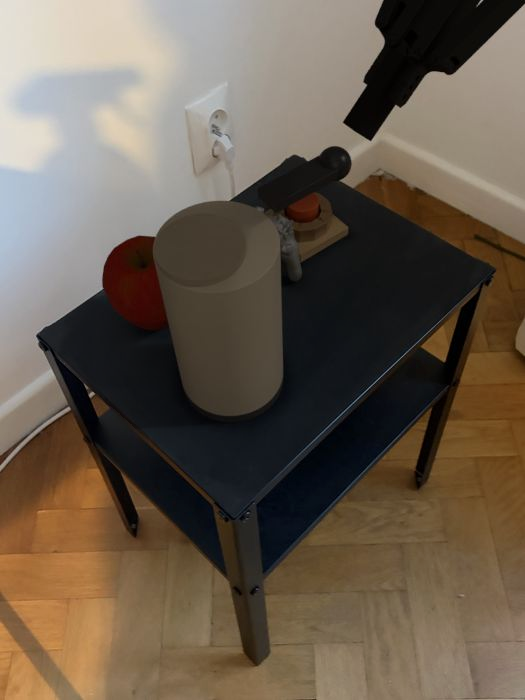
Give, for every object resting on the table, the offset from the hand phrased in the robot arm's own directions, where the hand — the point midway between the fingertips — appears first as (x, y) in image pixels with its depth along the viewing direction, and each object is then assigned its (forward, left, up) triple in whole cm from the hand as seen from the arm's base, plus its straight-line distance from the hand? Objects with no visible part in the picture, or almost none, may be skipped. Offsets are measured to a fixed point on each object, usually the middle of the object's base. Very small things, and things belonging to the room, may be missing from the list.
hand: (356, 131), depth 59 cm
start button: (+12, -4, -20) cm, 24 cm away
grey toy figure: (+9, +5, -23) cm, 25 cm away
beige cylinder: (0, +14, -23) cm, 27 cm away
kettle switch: (0, +5, -3) cm, 6 cm away
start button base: (+12, -4, -23) cm, 26 cm away
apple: (+11, +16, -23) cm, 30 cm away
